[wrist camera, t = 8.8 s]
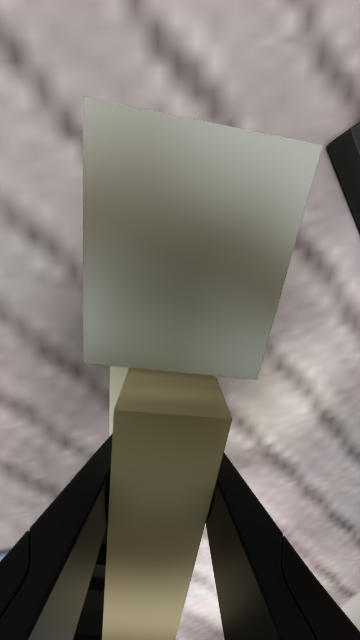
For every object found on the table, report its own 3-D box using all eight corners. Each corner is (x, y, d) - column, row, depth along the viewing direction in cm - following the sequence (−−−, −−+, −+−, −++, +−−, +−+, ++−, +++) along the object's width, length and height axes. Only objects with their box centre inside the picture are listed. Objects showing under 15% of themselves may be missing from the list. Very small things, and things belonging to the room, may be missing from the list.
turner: (198, 551, 12) (207, 645, 9) (90, 548, 11) (64, 648, 8) (299, 161, 6) (408, 83, 3) (97, 122, 6) (25, -9, 3)
